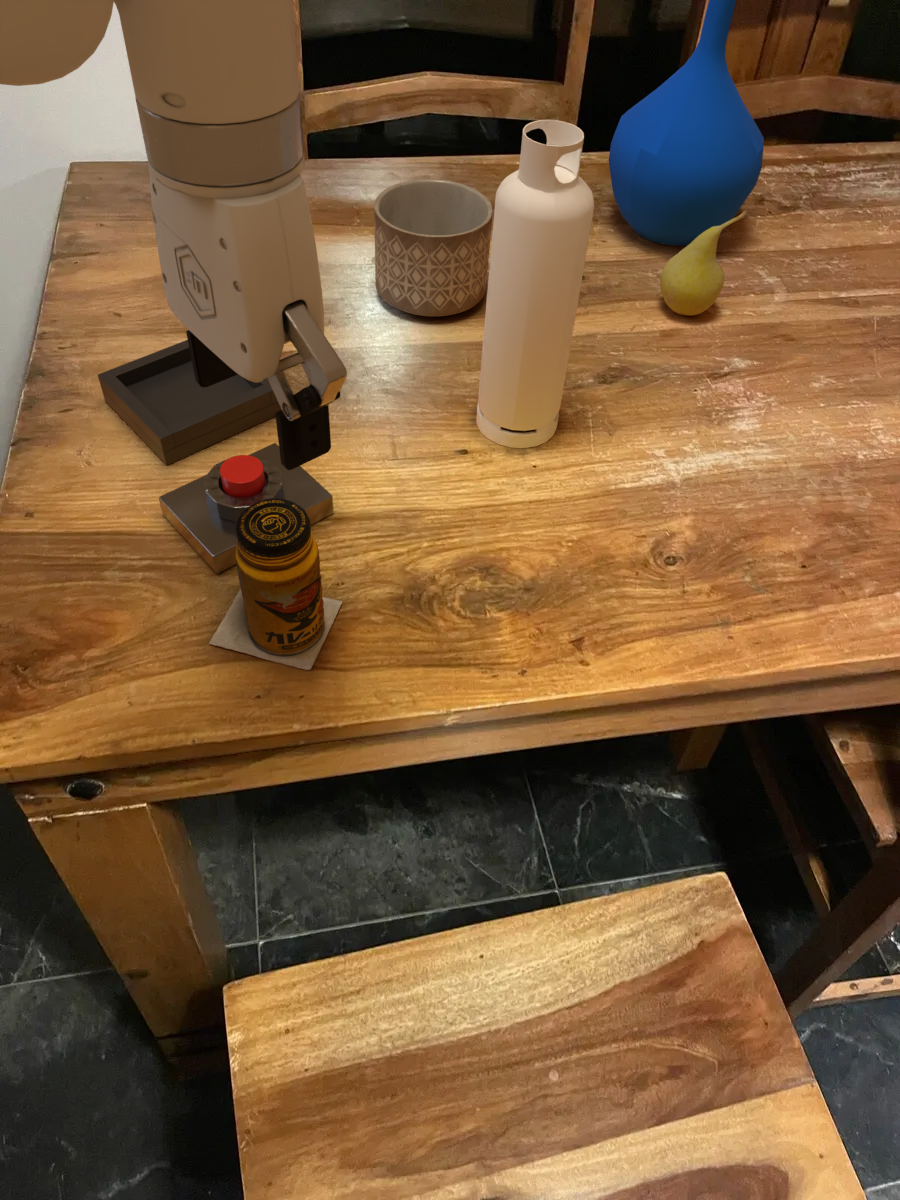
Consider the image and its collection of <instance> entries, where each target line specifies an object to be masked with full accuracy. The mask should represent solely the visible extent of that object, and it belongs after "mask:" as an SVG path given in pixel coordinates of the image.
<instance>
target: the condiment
mask: <svg viewBox="0 0 900 1200" xmlns="http://www.w3.org/2000/svg"><path fill="white" fill-rule="evenodd" d="M236 535H237V546H236V551H235V558H236V565H235V566H236V571H237V578H238V582H239V586H240V588H239V589H238V592H237V594H236V595H235V597H234V599H233V602H232V603H231V604H230V606H229V608H228V610H227V611H226V613H225V616H223V619H222V620H221V622H220V624H219V625H218V627H217V629H216V631H215V632H214V634H213V636H212V637H211V639H210V641H209V643H208V645H212V646H216V647H217V646H218V647H221V648H223V649H227V650H232V651H236V652H239V653H244V654H246V655H250V656H253V657H257V658H260V659H262V660H266V661H271V662H275V663H278V664H282V665H285V666H290V667H294V668H296V669H301V670H306V671H311V669H312V668H313V666H314V663H315V662H316V659H317V657H318V656H319V653H320V651H321V649H322V648H323V645H324V643H325V641H326V638H327V637H328V634H329V632H330V630H331V628H332V626H333V624H334V622H335V619H336V617H337V614H338V612H339V610H340V608H341V606H342V604H343V600H338V599H333V598H329V597H324V596H323V585H322V583H323V582H322V575H321V559H320V552H319V546H318V542H317V541H316V538H315V537H314V535H313V531H312V525H311V522H310V518H309V517H308V515H307V513H306V512H305V510H304V509H303V508H301V507H300V506H299V505H297V504H296V503H294V502H292V501H289V500H285V499H280V498H271V499H265V500H262V501H260V502H257V503H254V504H253V505H251V506H249V507H247V508H246V509H245V510H244V511H243V512H242V513H241V515H240V516H239V518H238V520H237V523H236Z"/></svg>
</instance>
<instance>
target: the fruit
mask: <svg viewBox="0 0 900 1200" xmlns="http://www.w3.org/2000/svg"><path fill="white" fill-rule="evenodd" d="M748 213H749V212H748V210H747V209H744V210H743V211H742V212H741V214H739V215H737V216H736V217H733V218H732V219H731V220H730V221H728V222H726V223H724V224H722V225H720V226H714V227H711V228H709V229H708V230H706V231H704V232H703V233H701V234H700V235H699V236H698V237H697V238H696V239H695V240H693V241H692V242H691V243H690V244H689V245H686V246H685V247H683V248H682V249H681V250H680V251H679V252H678V253H676V254H675V255H674V256H672V257H671V258H670V259H668V260H667V262H666V263H665V265H664V266H663V268H662V270H661V274H660V279H659V286H660V292H661V296H662V298H663V300H664V303H665V304H666V306H667V307H668V308H669V309H670V310H671V311H672V312H674V313H676V314H678V315H681V316H697V315H700V314H702V313H704V312H705V311H707V310H708V309H709V308H710V307H711V306H712V305H713V304H715V302H716V301H717V299H718V298H719V296H720V294H721V293H722V289H723V288H724V284H725V272H724V269H723V267H722V266H721V264H720V263H719V261H718V260H717V249H718V248H717V247H718V241H719V238H720V235H721V232H722V231H723V230H724V229H725V228H726V227H728V226H729V225H731V224H733V223H735V222H738V221H740V220H742V219H743V218H744V217H746V216H747V214H748Z"/></svg>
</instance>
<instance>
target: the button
mask: <svg viewBox="0 0 900 1200" xmlns="http://www.w3.org/2000/svg"><path fill="white" fill-rule="evenodd" d="M249 455H250V454H238V455H234V456H231V457H229V458H227V460H226V459H225V460H226V461H225V462H224V463H223V464H222V465H221V468H220V474H221V480H222V485H223V489H224V491H225V492H226V493H227V494H228V495H230V496H232V497H236V498H243V497H252V496H254V495H256V494H258V493H260V492H261V491H262V490H263V488H264V486H265V476H264V469H263V464H262V463H261V461H260V460H259V459H257V458H255V457H253V456H249Z"/></svg>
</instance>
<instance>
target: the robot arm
mask: <svg viewBox="0 0 900 1200" xmlns="http://www.w3.org/2000/svg"><path fill="white" fill-rule="evenodd" d="M114 5H115V8H116V9H117V12H118V15H119V21H120V26H121V30H122V36H123V41H124V46H125V51H126V55H127V60H128V65H129V66H128V67H129V73H130V77H131V81H132V86H133V91H134V96H135V97H134V98H135V103H136V109H137V114H138V118H139V124H140V128H141V133H142V139H143V145H144V148H145V149H144V150H145V154H146V159H147V163H148V173H149V191H150V202H151V211H152V218H153V226H154V227H153V228H154V234H155V240H156V245H157V252H158V254H157V255H158V260H159V265H160V271H161V277H162V283H163V289H164V294H165V298H166V303H167V305H168V307H169V309H170V311H171V312H172V314H173V315H174V316H175V318H176V319H177V320H178V321H179V322H180V323H181V324H182V325H183V326H184V327H185V328H186V329H187V330H185V334H186V340H188V344H189V349H190V354H191V359H192V365H193V370H194V375H195V380H196V382H197V383H198V384H199V385H200V386H201V387H209V386H211V385H214V384H216V383H218V382H221V381H223V380H226V379H228V378H231V377H233V376H235V375H238V374H239V375H240V376H242V377H243V378H245V379H247V380H249V381H252V382H256V383H258V382H261V381H263V380H264V379H266V378H268V380H269V383H270V385H271V387H272V389H273V392H274V394H275V396H276V398H277V400H278V403H279V405H280V407H281V409H282V410H279V411H278V412H277V413H275V423H276V432H277V440H278V446H279V450H280V458H281V464H282V465H283V466H284V467H285V468H286V469H287V470H292V469H294V468H296V467H298V466H301V467H302V466H303V465H304V464H307V463H308V462H311V461H313V460H316V459H317V458H319V457H322V456H324V455H326V454H327V453H329V452H330V451H331V449H332V439H331V437H332V436H331V423H330V409H329V407H330V406H329V405H332V404H333V403H334V402H335V401H336V400H338V399H340V398H341V391H342V388H343V386H344V384H345V382H346V379H347V377H348V372H347V369H346V366H345V363H343V361H342V360H341V358H340V357H339V355H338V354H337V352H336V351H335V349H334V347H333V346H332V345H331V343H330V342H329V340H328V338H327V337H326V335H325V313H324V299H323V289H322V281H321V273H320V266H319V258H318V257H319V256H318V249H317V244H316V237H315V232H314V226H313V225H314V224H313V221H312V220H313V219H312V215H311V208H310V205H309V200H308V194H307V191H306V186H305V181H304V179H303V177H302V175H301V173H302V172H303V170H304V167H305V165H306V162H305V161H306V158H305V147H304V146H305V145H304V144H305V143H304V134H303V133H304V132H303V131H304V130H303V118H302V117H303V116H302V104H301V90H300V74H299V61H298V49H297V35H296V22H295V9H294V8H295V7H294V0H0V85H4V86H5V85H6V86H15V87H21V86H32V85H33V86H34V85H42V84H46V83H49V82H52V81H56V80H60V79H63V78H64V77H66V76H67V75H69V74H72V73H73V72H74V71H77V70H78V69H79V68H81V66H83V64H84V63H86V62H87V61H88V60H89V59H90V58H91V57H92V56H93V55H94V54H95V52H96V51H97V49H98V48H99V46H100V44H101V43H102V41H103V40H104V38H105V36H106V33H107V30H108V28H109V24H110V20H111V19H112V15H113V9H114ZM288 343H291V344H292V345H293V347H294V348H295V350H296V351H297V352H296V353H293V354H290V355H288V356H286V357H283V358H281V357H282V354H283V350H284V346H285V345H286V344H288ZM299 365H301V367H302V369H303V372H304V373H305V376H306V378H307V381H308V383H309V385H308V386H306V387H304V388H302V389H301V390H299V391H297V392H296V393H294V392H293V389H292V388H291V386H290V383H289V381H288V379H287V376H286V374H285V372H286V371H287V370H290V369H292V368H295V367H297V366H299Z"/></svg>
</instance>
